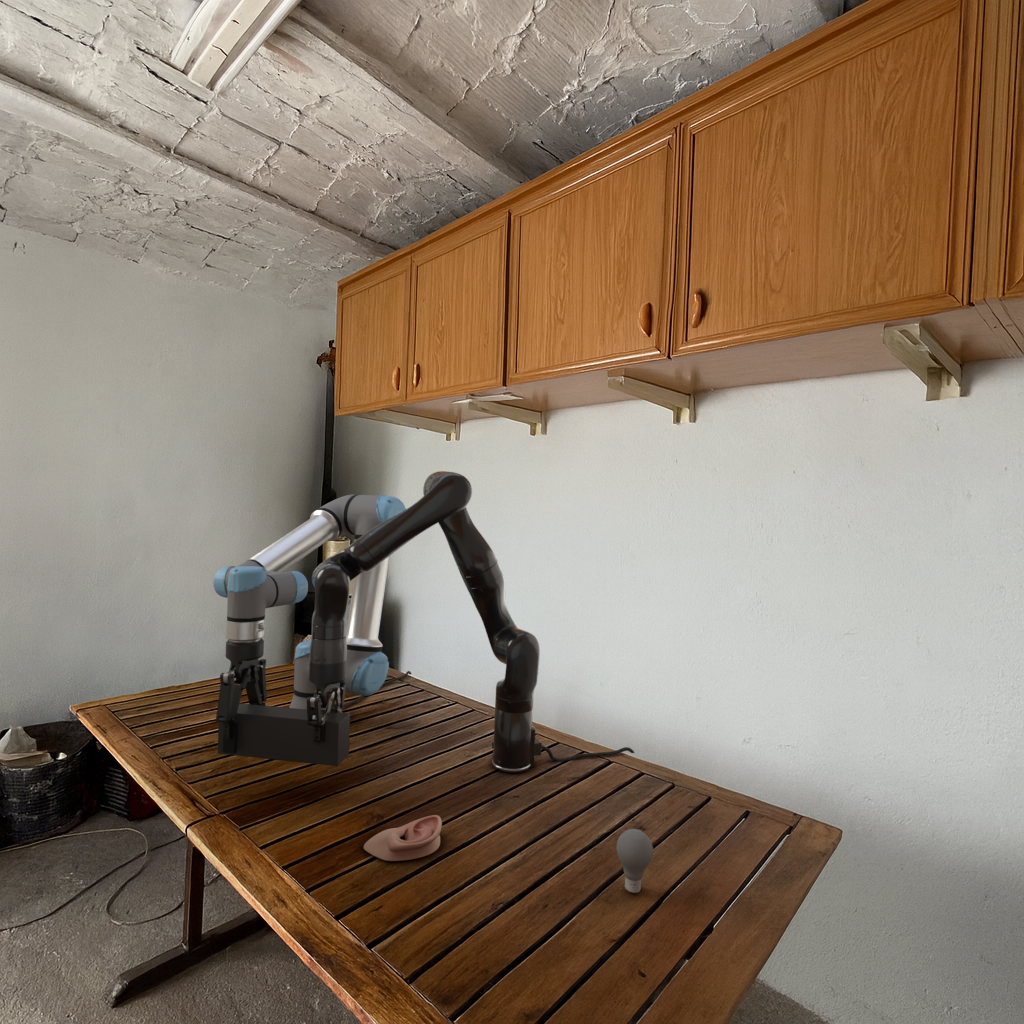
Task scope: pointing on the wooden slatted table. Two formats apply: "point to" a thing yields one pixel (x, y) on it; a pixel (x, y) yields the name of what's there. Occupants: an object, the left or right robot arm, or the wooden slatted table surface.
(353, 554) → the right robot arm
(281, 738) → the bar
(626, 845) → the light bulb
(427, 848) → the anatomical model
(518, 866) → the wooden slatted table surface
